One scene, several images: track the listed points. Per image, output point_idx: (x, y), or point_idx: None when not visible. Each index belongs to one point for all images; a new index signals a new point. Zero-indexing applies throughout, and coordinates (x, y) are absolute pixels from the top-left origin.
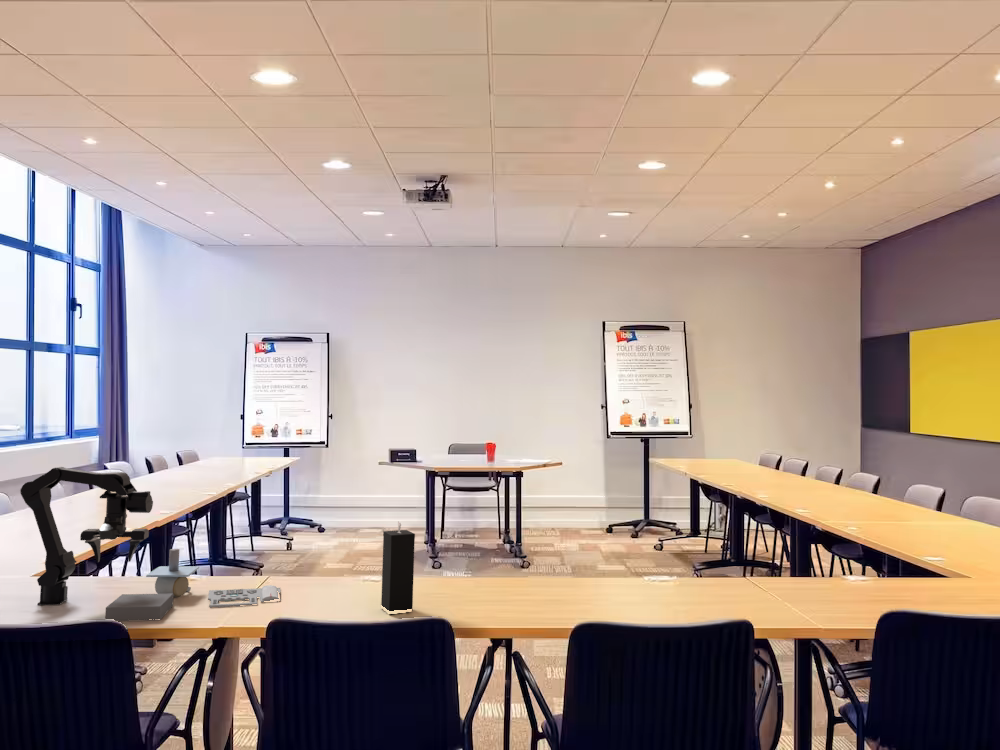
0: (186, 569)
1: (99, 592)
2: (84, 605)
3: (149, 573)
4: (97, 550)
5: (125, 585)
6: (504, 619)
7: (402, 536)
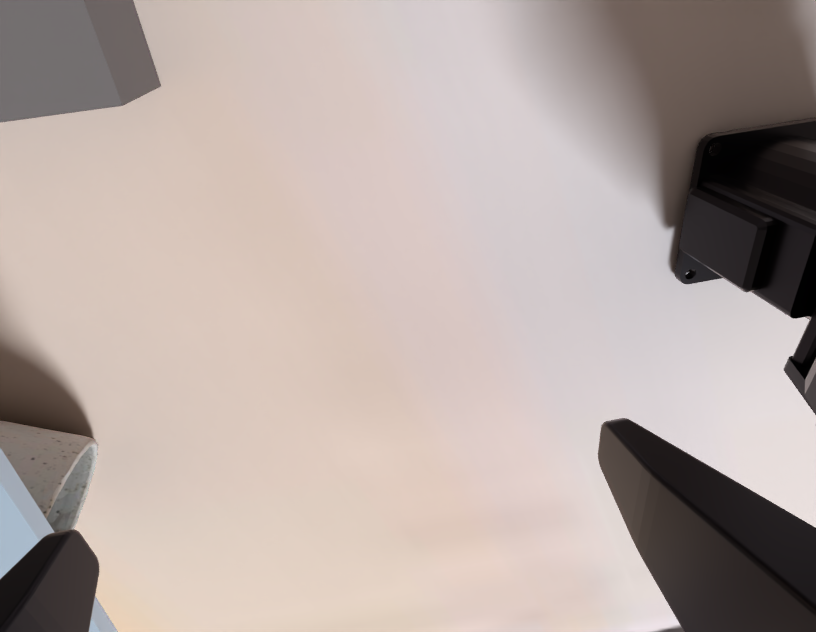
0: None
1: (529, 443)
2: (513, 138)
3: (16, 522)
4: (795, 621)
5: (444, 565)
6: None
7: None
